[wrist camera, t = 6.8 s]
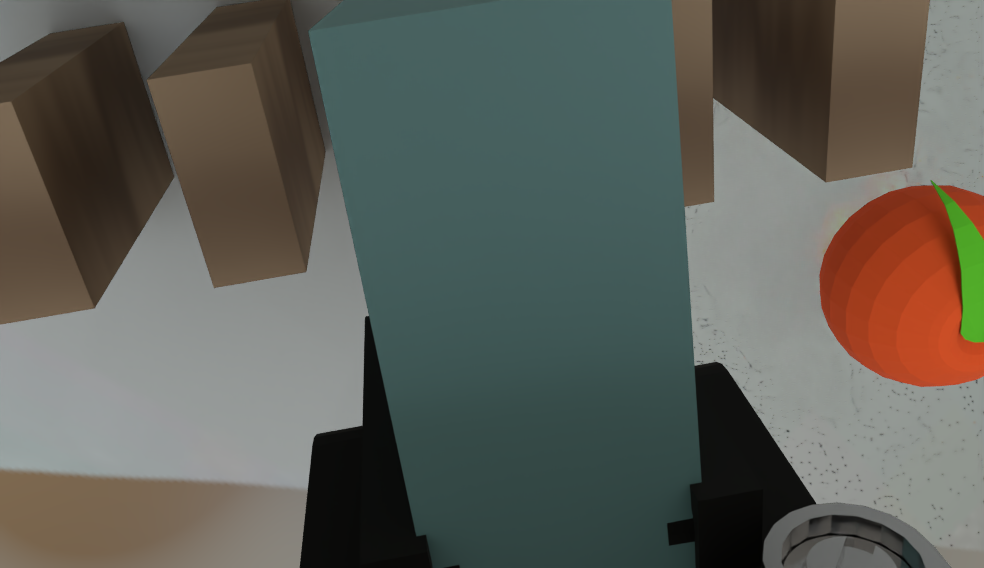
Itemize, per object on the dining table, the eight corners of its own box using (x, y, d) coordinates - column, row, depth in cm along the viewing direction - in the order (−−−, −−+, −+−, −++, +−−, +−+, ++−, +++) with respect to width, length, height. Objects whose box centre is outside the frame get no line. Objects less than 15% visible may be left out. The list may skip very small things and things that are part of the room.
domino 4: (541, -44, 26) (612, 4, 18) (610, -55, 26) (711, -11, 18) (556, 113, 29) (625, 216, 21) (620, 102, 29) (714, 201, 21)
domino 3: (307, 32, 5) (511, 977, 8) (668, -26, 5) (729, 931, 8) (348, -4, 10) (468, 613, 13) (539, -34, 10) (610, 586, 13)
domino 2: (216, 7, 26) (146, 79, 18) (288, -4, 26) (251, 63, 18) (259, 163, 28) (213, 287, 20) (325, 151, 28) (306, 272, 20)
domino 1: (50, 33, 26) (-97, 118, 18) (123, 22, 26) (10, 101, 18) (107, 188, 28) (-1, 324, 20) (174, 177, 28) (94, 308, 20)
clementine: (765, 172, 31) (865, 257, 24) (952, 101, 30) (1103, 169, 24) (803, 347, 34) (898, 460, 28) (969, 286, 34) (1104, 386, 28)
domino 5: (699, -69, 27) (837, -32, 19) (768, -80, 27) (934, -47, 19) (702, 89, 29) (825, 182, 21) (764, 78, 29) (912, 167, 21)
